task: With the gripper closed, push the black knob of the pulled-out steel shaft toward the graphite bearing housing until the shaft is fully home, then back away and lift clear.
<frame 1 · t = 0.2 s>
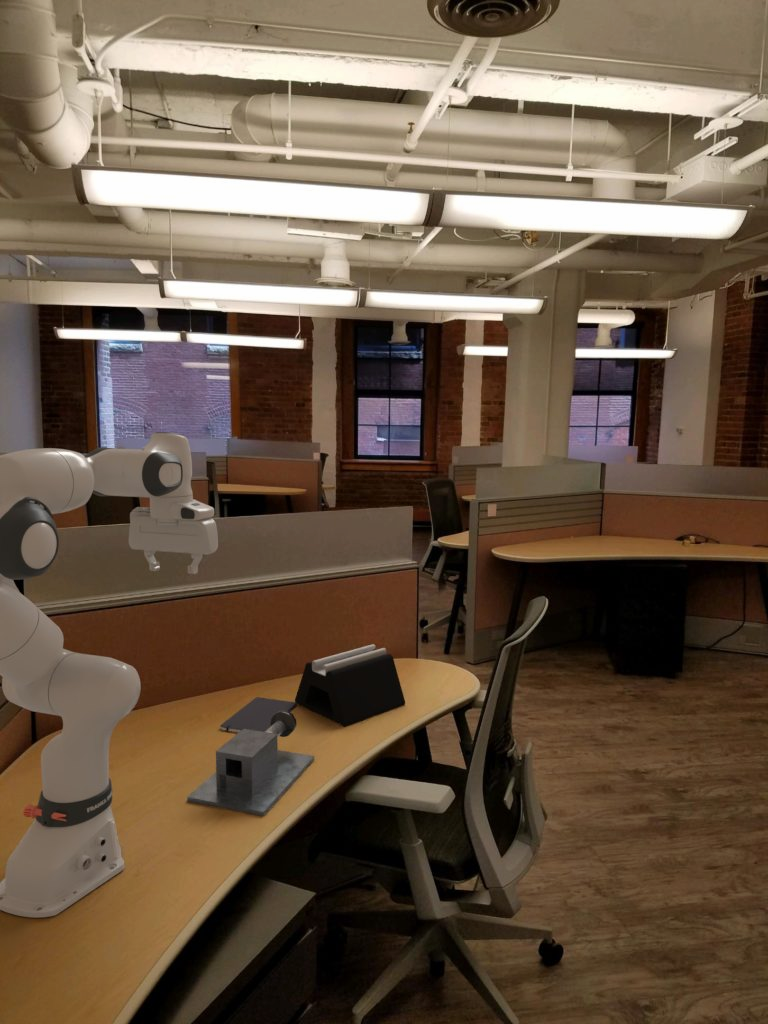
hand: (173, 571, 153), 48 cm above the table, tool pointing down, fingers open, 8 cm apart
paper product: (259, 719, 194), on the table
shaft: (266, 738, 165), point 7 cm above the table, slide at 10.0 cm
bearing housing: (256, 777, 161), on the table
device stand: (349, 705, 204), on the table
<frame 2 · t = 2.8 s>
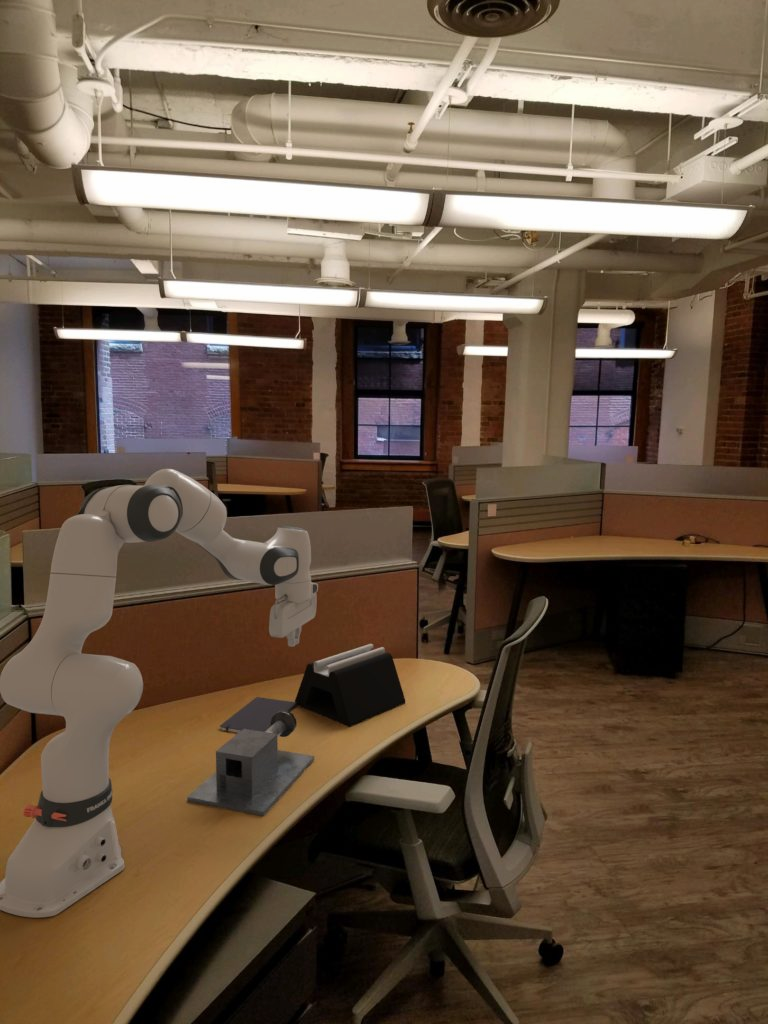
hand: (293, 645, 177), 25 cm above the table, tool pointing down, fingers closed
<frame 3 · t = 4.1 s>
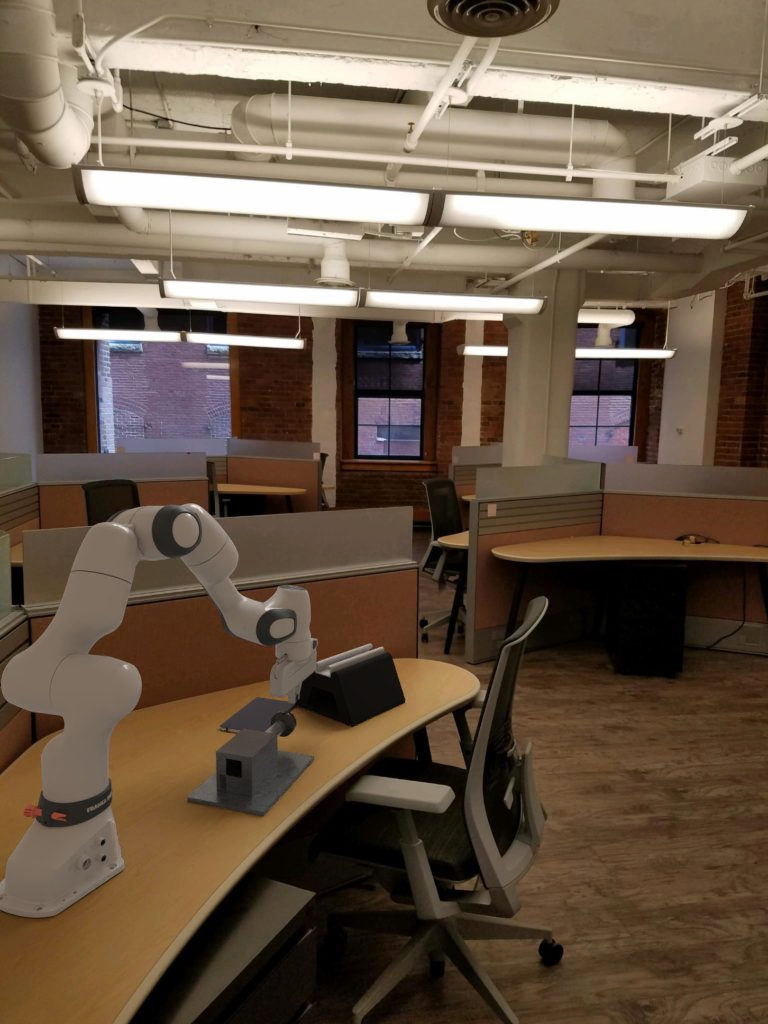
hand: (293, 701, 179), 10 cm above the table, tool pointing down, fingers closed
nothing on the table moved.
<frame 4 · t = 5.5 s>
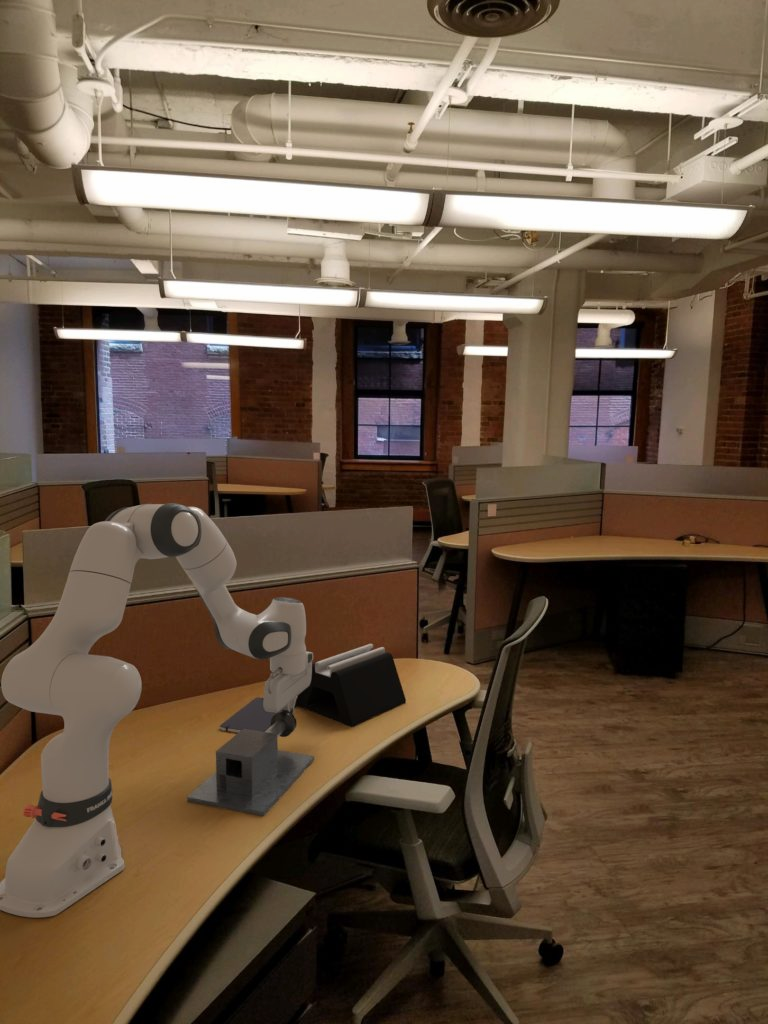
hand: (288, 715, 176), 8 cm above the table, tool pointing down, fingers closed
shaft: (266, 738, 165), point 7 cm above the table, slide at 10.0 cm, touching gripper
everything else where it was.
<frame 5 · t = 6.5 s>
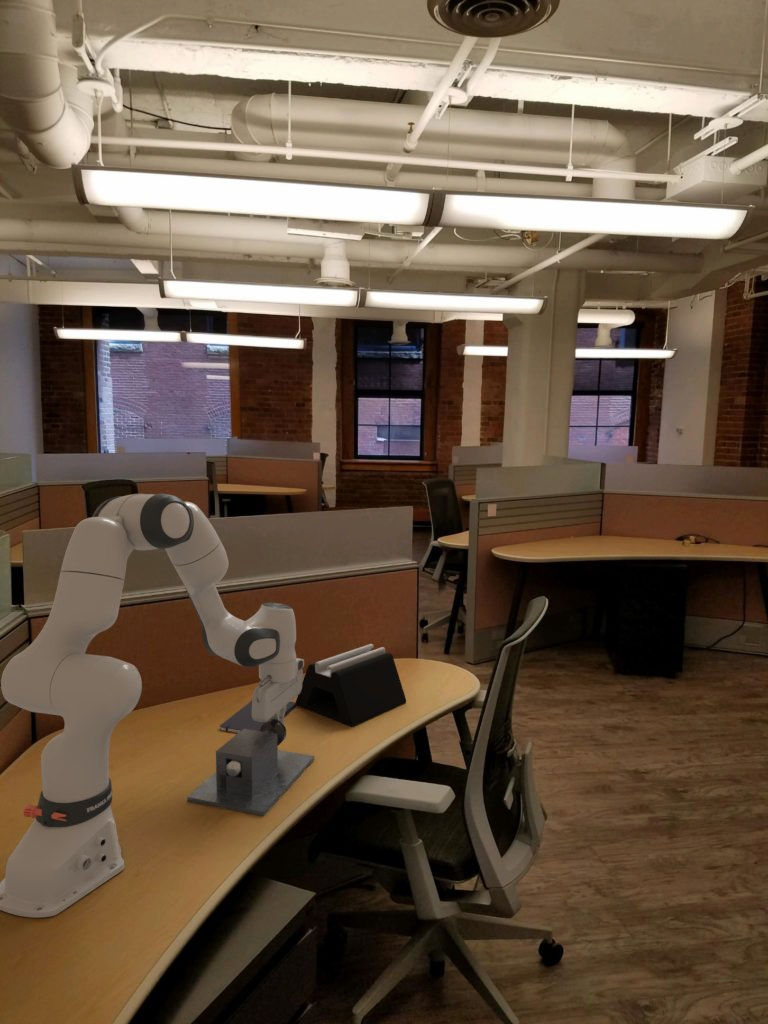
hand: (278, 725, 170), 8 cm above the table, tool pointing down, fingers closed
shaft: (254, 749, 159), point 7 cm above the table, slide at 4.3 cm, touching gripper
everything else where it was.
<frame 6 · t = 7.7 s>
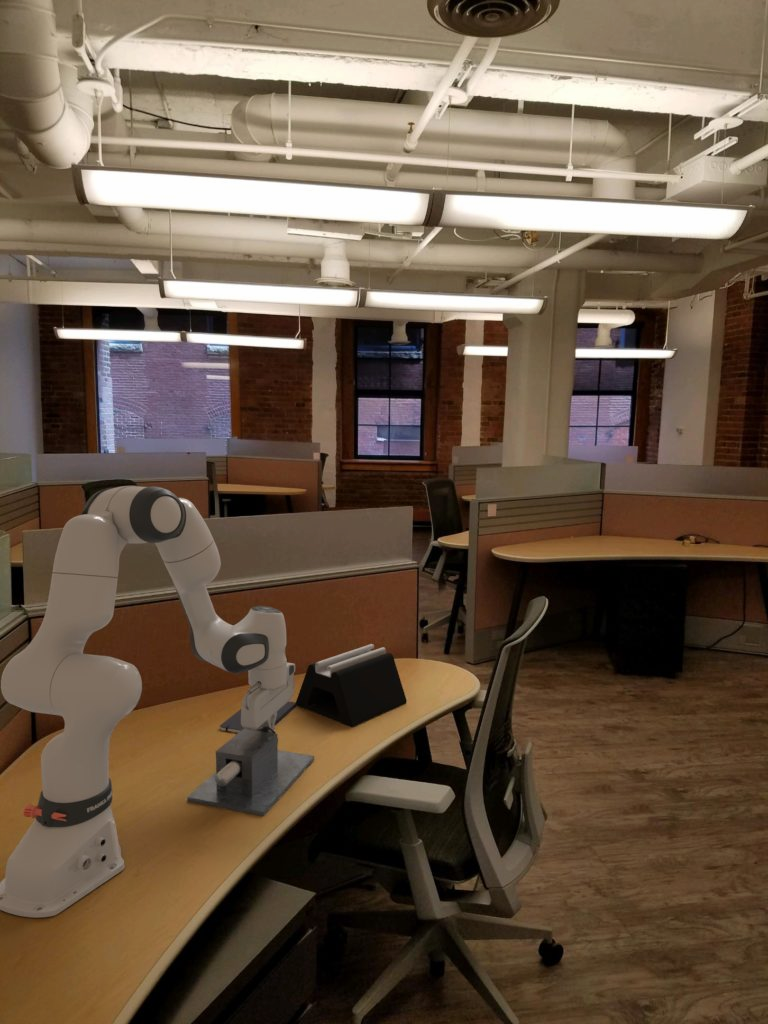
hand: (268, 731, 166), 8 cm above the table, tool pointing down, fingers closed
shaft: (245, 757, 155), point 7 cm above the table, slide at -0.1 cm, touching gripper
everything else where it was.
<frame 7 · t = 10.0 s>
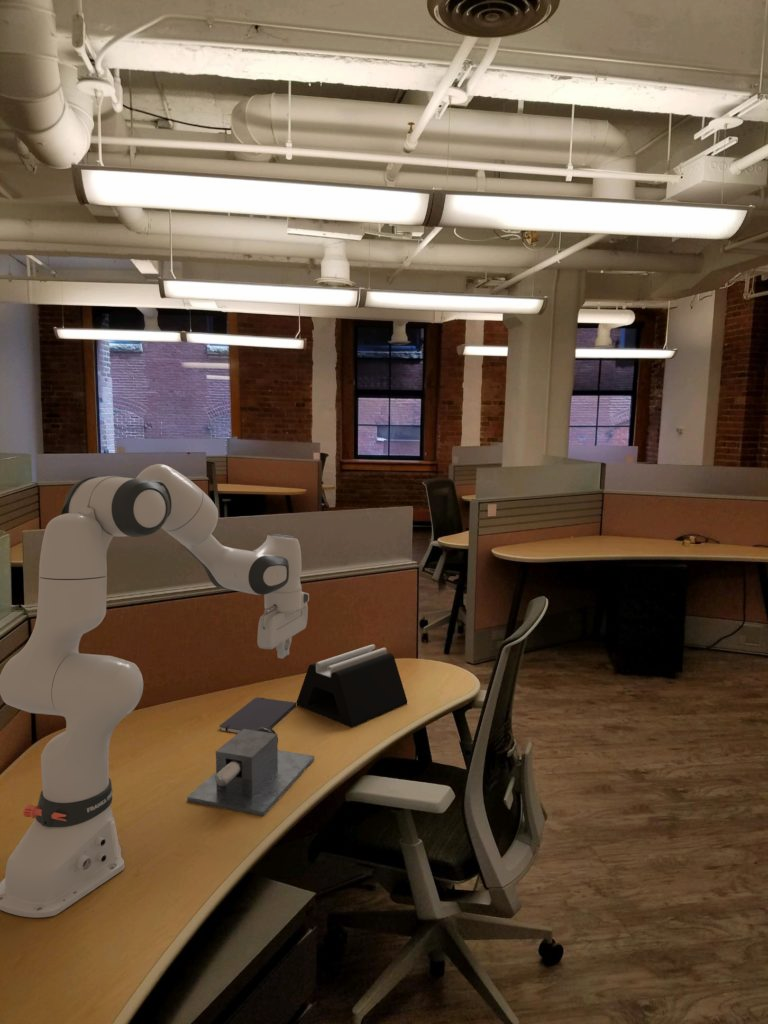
hand: (283, 656, 171), 24 cm above the table, tool pointing down, fingers closed
shaft: (245, 757, 155), point 7 cm above the table, slide at 0.0 cm
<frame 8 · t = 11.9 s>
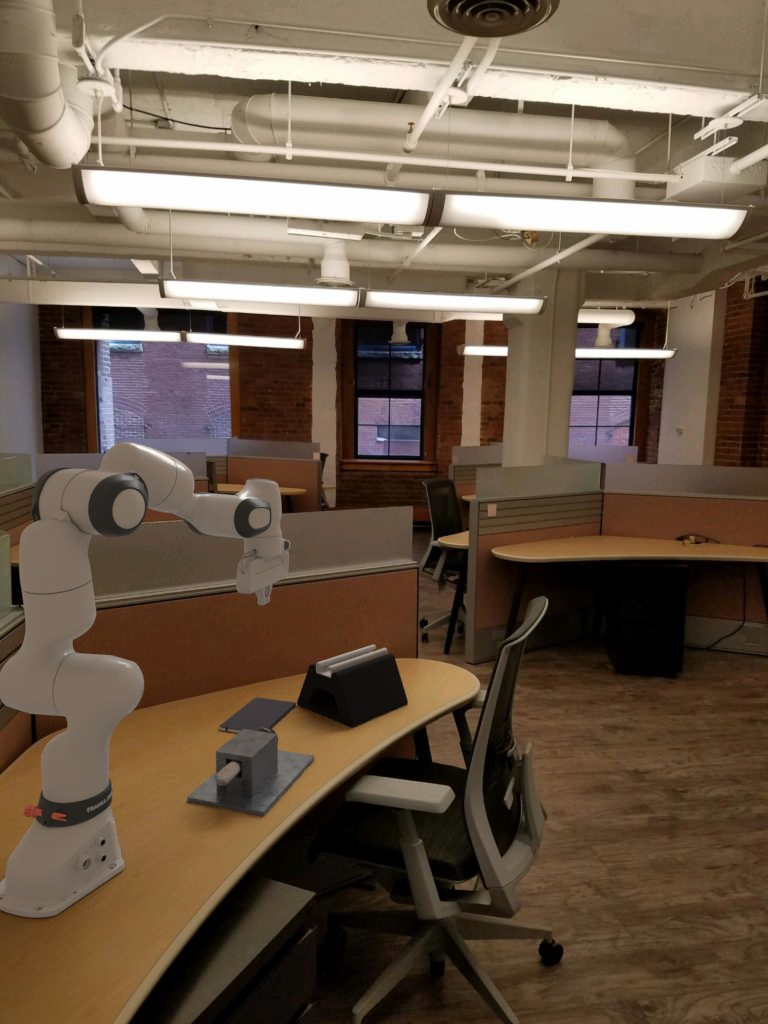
hand: (263, 603, 169), 37 cm above the table, tool pointing down, fingers closed
at the end: shaft slide at 0.0 cm; shaft touching nothing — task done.
